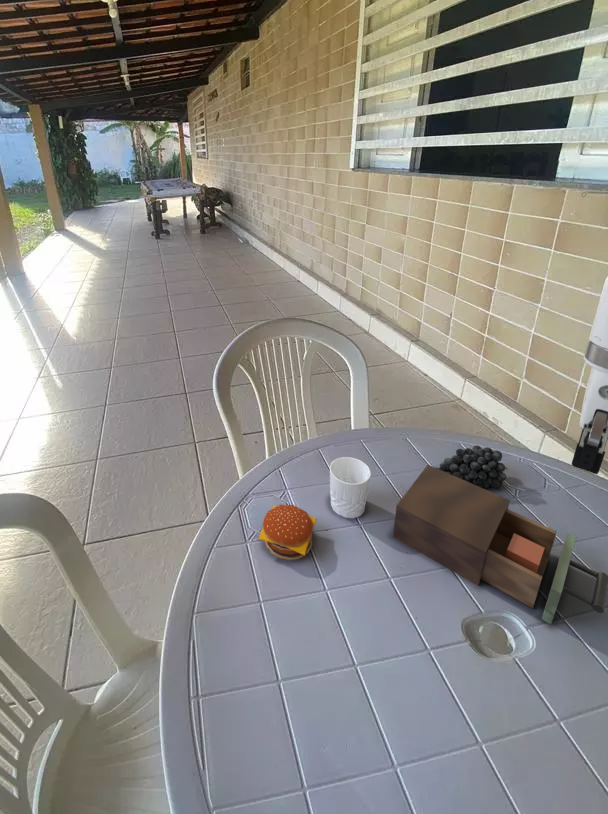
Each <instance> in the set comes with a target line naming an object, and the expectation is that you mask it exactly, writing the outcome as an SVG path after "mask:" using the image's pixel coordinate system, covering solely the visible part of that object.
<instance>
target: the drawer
mask: <svg viewBox="0 0 608 814" xmlns="http://www.w3.org/2000/svg"><path fill="white" fill-rule="evenodd" d="M557 532H558V531H557V530H555V529H554V528H553V529H552V528H551V527H549V526H546V525H544V524H542V523H540V522H537V521H535V520H533V519H530V518H528V517H527V516H524V515H521V514H519V513H517V512H514V511H512V510H511V509H509V508H508V509H507V510H506V512H505V514H504V516H503V519H502V521H501V523H500V525H499V527H498V529H497V531H496V534H495V536H494V538H493V540H492V542H491V544H490V547H489V549H488V551H487V553H486V558H485V562H484V566H483V571H482V575H481V579H480V580H482V581H483V582H486V583H487V584H489V585H490V586H492V587H494V588H496V589H497V590H499V591H501V592H503V593H504V594H507V595H508V596H510V597H512V598H514V599H515V600H517V601H519V602H521V603H522V604H524V605H526V606H528V607H530V608H531V609H534V606H535V603H536V600H537V597H538V594H539V590H540V587H541V585H542V581H543V578H544V574H545V572H546V569H547V564H548V562H549V558H550V555H551V552H552V549H553V546H554V542H555V539H556V536H557V534H558V533H557ZM514 533H515V534H517V535H519V536H521V537H523V538H525V539H527V540H530V541H532V542H534V543H536V544H538V545H540V546H542V547H544V548H545V549H544V553H543V556H542V559H541V563H540V566H539V569H538V572H537V574H536V573H534V572H532V571H530V570H528V569H527V568H525V567H523V566H521V565H519V564H517V563H515V562H513V561H511V560H509V559H507V558H505V556H506V552H507V548H508V546H509V544H510V541H511V539H512V536H513V534H514ZM576 541H577V535H575V534H573V533H571V532H568V531H567V533H566V535H565V539H564V542H563V546H562V548H561V551H560V555H559V558H558V561H557V564H556V567H555V571H554V575H553V578H552V581H551V585H550V589H549V592H548V595H547V599H546V603H545V605H544V609H543V613H542V616H541V620H543V621H544V622H546V623H548V624H550V625H552V623H553V620H554V617H555V614H556V611H557V608H558V605H559V602H560V599H561V596H562V593H563V592H564V593H566V594H568V595H570V596H571V597H573V598H575V599H577V600H579V601H581V602H583V603H584V604H587V605H589V606H590V607H591V609H592V610H593V611H594V612H595V613H599V614H603V613H604V612H605V607H606V602H607V601H606V600H607V594H608V574H607V573H606V572H603V571H598V572H597V571H595V570H593V569H591V568H589V567H586V566H585V565H582V564H581V563H578V562H577V561H574V560H572V557H573V556H572V555H573V551H574V548H575V544H576ZM569 566H571V567H573V568H575V569H577V570H579V571H582V572H584V573H586V574H587V575H590V576H592V577H594V578H596V579H595V583H594V589H593V594H592V598H589V597H587V596H585V595H583V594H581V593H579V592H577V591H575V590H573V589H571V588H569V587H567V586H566V585H565V582H566V578H567V574H568V571H569Z"/></svg>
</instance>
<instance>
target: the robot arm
mask: <svg viewBox="0 0 608 814" xmlns="http://www.w3.org/2000/svg"><path fill="white" fill-rule="evenodd" d="M583 361H584V362H585V363H586V365H588V366H590V367H591V368H590V373H589V375H588V380H587V384H586V389H585V391H584V397H583V401H582V404H581V405H582V406H581V410H580V411H581V412H580V417H579V424H578V426H579V428H580V429H581V433H580V436H579V439H578V442H577V444H576V447H575V450H574V453H573V457H572V461H571V466H572V467H575V468H577V469H580V470H583V471H585V472H588V473H591V474H594V475H598V474H599V473H600V470H601V468H602V467H601V466H602V464H603V461H604V457H605V455H606V451H605V448H606V446H607V443H608V276H606V278H605V281H604V283H603V287H602V290H601V293H600V297H599V301H598V305H597V309H596V311H595V316H594V319H593V323H592V327H591V330H590V334H589V337H588V340H587V344H586V348H585V351H584V355H583Z"/></svg>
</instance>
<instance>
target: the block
mask: <svg viewBox="0 0 608 814" xmlns="http://www.w3.org/2000/svg"><path fill="white" fill-rule="evenodd" d="M544 549H545V548H544V547H542V546H540V545H538V544H536V543H534V542H532V541H530V540H527V539H525V538H523V537H521V536H519V535H517V534H515V533H514V534H513V536H512V539H511V541H510V544H509V546H508V548H507V552H506V556H505V558H507V559H509V560H511V561H513V562H515V563H517V564H519V565H521V566H523V567H525V568H527V569H528V570H530V571H532V572H534V573H536V574H537V572H538V569H539V566H540V563H541V559H542V556H543V553H544Z"/></svg>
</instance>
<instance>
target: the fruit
mask: <svg viewBox="0 0 608 814" xmlns="http://www.w3.org/2000/svg"><path fill="white" fill-rule="evenodd" d="M502 459H503V453H502V452H501V451H500V450H498V449H495V450H493V449H492V448H491V447H488V446H486V447H484V448H482V447H481V446H480V445H474V446H472V448H470V447H466V448H464V449H463V448H457V449H456V450H455V455H452V456H451V457H446V458H444V460H443V461H442V462H441V463H439V467H436V468H437V469H439V470H442V471H444V472H446V473H449V474H451V475H453V476H455V477H458V478H460V479H462V480H465V481H467V482H469V483H472V484H474V485H476V486H478V487H481V488H483V489H487V488H489V487H492V488H494V489H496V488H500V487H502V486H503V482H504V481H506V479H507V474H506V473H505V471H506V470H509V468H507V467H506V465H505V464H504V463H503V462H501V461H502Z"/></svg>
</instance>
